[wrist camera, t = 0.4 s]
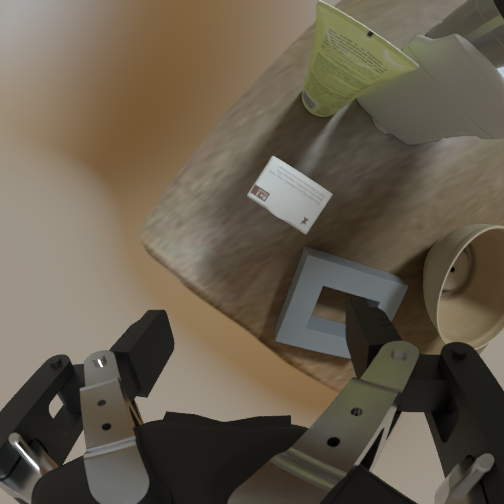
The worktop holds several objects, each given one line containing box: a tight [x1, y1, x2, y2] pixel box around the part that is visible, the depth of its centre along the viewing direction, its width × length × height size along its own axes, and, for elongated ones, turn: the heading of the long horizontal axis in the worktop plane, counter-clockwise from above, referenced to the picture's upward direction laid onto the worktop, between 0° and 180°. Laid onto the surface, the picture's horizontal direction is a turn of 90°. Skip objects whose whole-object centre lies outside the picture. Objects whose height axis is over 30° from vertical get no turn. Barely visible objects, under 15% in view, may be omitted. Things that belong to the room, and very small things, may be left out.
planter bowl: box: [423, 224, 504, 350], centre depth 30 cm, size 16×16×11 cm
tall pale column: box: [356, 34, 504, 145], centre depth 20 cm, size 11×4×22 cm, turn 56°
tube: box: [302, 0, 419, 117], centre depth 21 cm, size 6×5×20 cm
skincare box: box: [247, 156, 332, 234], centre depth 28 cm, size 6×4×12 cm
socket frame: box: [275, 246, 408, 359], centre depth 36 cm, size 12×14×4 cm
